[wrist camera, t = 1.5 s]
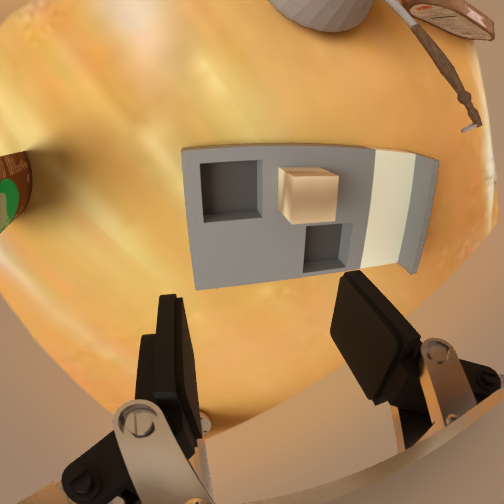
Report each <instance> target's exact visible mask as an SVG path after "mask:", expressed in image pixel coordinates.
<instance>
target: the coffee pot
mask: <svg viewBox="0 0 504 504" xmlns="http://www.w3.org/2000/svg"><path fill="white" fill-rule="evenodd" d="M268 1H269V2H270V3H271V4H272V5H273V6H274V7H275V9H276V10H277V11H278V12H280V13H281V14H282V15H284V16H285V17H286V18H288V19H289V20H291V21H293V22H295V23H297V24H299V25H301V26H304V27H307V28H311V29H314V30H318V31H324V32H341V31H347V30H350V29H352V28H354V27H356V26H358V25H359V24H360V23H361V22H362V21H363V20H364V19H365V18H366V17H367V15H368V13H369V11H370V9H371V7H372V5H373V3H374V0H268ZM384 1H385V2H386V3H387V4H388V5H389V6H390V7H391V8H392V9H393V10H394V11H395V12H396V13H397V14H398V15H399V16H400V17H401V18H402V19H403V20H404V21H405V22H406V23H407V25H408V26H409V27H410V28H411V30H412V32H413V33H414V34H415V36H416V37H417V38H418V40H419V41H420V42H421V44H422V45H423V47H424V48H425V50H426V51H427V52H428V54H429V55H430V57H431V58H432V60H433V62H434V63H435V65H436V66H437V68H438V69H439V71H440V73H441V74H442V75H443V76H444V77H445V78H446V80H447V81H448V82H449V83H450V85H451V86H452V87H453V89H454V90H455V91H456V93H457V94H458V101H459V102H460V103H462V104H464V105H465V107H466V109H467V110H468V115H469V117H470V118H471V120H472V121H473V123H472V124H470V125H468V126H467V127H465V128H463V129H462V130H461V132H462V133H464V132H467V131H469V130H471V129H473V128H475V127H480V126H482V122H481V118H480V116H479V113H478V111H477V110H476V109H475V108H474V107H473V104H472V102H471V94H470V93H469V92H467V91H465V89H464V87H463V85H462V83H461V81H460V79H459V77H458V75H457V73H456V70H455V68H454V66H453V65H452V64H451V62H450V61H449V60H448V58H447V57H446V56H445V54H444V53H443V52H442V51H441V49H440V48H439V47H438V46H437V44H436V43H435V42H434V41H433V40H432V38H431V37H430V36H429V35H428V34H427V33H426V31H425V30H424V29H423V28H422V27H421V26H420V25H419V24H417V22H416V21H415V20H414V19H413V18H412V17H411V15H410V14H409V13H408V12H407V11H406V10H405V9H404V7H403V6H402V5H401V4H400V3H399V2H398V1H397V0H384ZM473 125H474V126H473Z"/></svg>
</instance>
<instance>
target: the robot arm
mask: <svg viewBox="0 0 504 504" xmlns="http://www.w3.org/2000/svg"><path fill="white" fill-rule="evenodd" d="M330 334H331V337H332V339H333V341H334V342H335V344H336V346H337V347H338V349H339V351H340V352H341V354H342V356H343V357H344V359H345V361H346V363H347V364H348V366H349V368H350V369H351V371H352V373H353V374H354V376H355V378H356V380H357V381H358V383H359V384H360V386H361V388H362V390H363V391H364V393H365V395H366V397H367V398H368V399H369V400H372V401H373V402H374V404H375V406H376V405H379V404H381V403H384V402H386V401H388V402H389V404H390V405H391V411H392V416H393V422H394V428H395V435H396V441H397V448H398V454H397V455H395V456H393V457H391V458H389V459H387V460H385V461H383V462H381V463H378V464H376V465H374V466H372V467H369V468H367V469H365V470H362V471H360V472H357V473H355V474H352V475H350V476H347V477H344V478H342V479H339V480H336V481H333V482H330V483H327V484H324V485H321V486H318V487H314V488H311V489H308V490H304V491H301V492H297V493H293V494H289V495H285V496H281V497H276V498H271V499H266V500H261V501H256V502H250V503H244V504H504V375H502V374H499V375H498V374H497V373H496V372H495V371H494V370H493V369H492V368H490V367H487V366H483V365H479V364H476V363H472V362H469V361H465V360H461V359H458V356H457V354H456V352H455V350H454V349H453V347H452V346H451V345H450V344H449V343H448V342H446V341H444V340H442V339H438V338H430V339H427V340H425V341H424V342H423V343H422V342H421V341H420V338H421V336H420V334H418V332H416V330H415V329H414V328H413V327H412V325H411V324H410V323H409V322H408V321H407V320H406V319H405V318H404V316H403V315H402V314H401V313H400V312H399V311H398V310H397V309H396V308H395V307H394V305H393V304H392V303H391V302H390V301H389V300H388V299H387V298H386V297H385V296H384V295H383V294H382V293H381V292H380V290H379V289H378V288H377V287H376V286H375V285H374V284H373V283H372V282H371V281H370V280H369V279H368V278H367V277H366V276H365V275H364V274H363V273H362V272H361V271H360V270H356V271H349V272H345V273H344V275H343V276H342V277H341V278H340V281H339V287H338V292H337V298H336V303H335V308H334V313H333V318H332V323H331V328H330ZM113 428H114V430H113V431H112V432H111V433H109V434H108V435H107V436H106V437H104V438H103V439H102V440H100V441H99V442H98V443H97V444H95V445H94V446H93V447H92V448H91V449H89V450H88V451H86V452H85V453H84V454H83V455H81V456H80V457H79V458H77V459H76V460H75V461H73V462H72V463H71V464H70V465H68V466H67V467H66V469H65V470H64V472H63V474H62V480H61V481H59V482H58V483H56V482H55V481H53V482H51V483H50V484H48V485H47V486H45V487H44V488H42V489H40V490H39V491H37V492H36V493H34V494H32V495H31V496H29V497H27V498H26V499H24V500H22V501H20V502H19V503H18V504H215V499H214V494H213V489H212V483H211V478H210V472H209V466H208V460H207V453H206V446H205V439H204V435H205V434H207V433H208V432H209V431H210V429H211V421H210V419H209V417H208V416H207V415H206V414H204V413H202V412H200V411H199V402H198V392H197V382H196V371H195V360H194V353H193V348H192V343H191V339H190V334H189V329H188V324H187V319H186V314H185V308H184V303H183V298H182V297H181V298H177V296H176V294H168V295H160V297H159V305H158V315H157V327H156V334H147V335H142V337H141V343H140V351H139V360H138V369H137V379H136V391H135V400H131V401H129V402H126V403H124V404H123V405H122V406H120V407H119V408H118V409H117V411H116V412H115V414H114V417H113Z"/></svg>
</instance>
